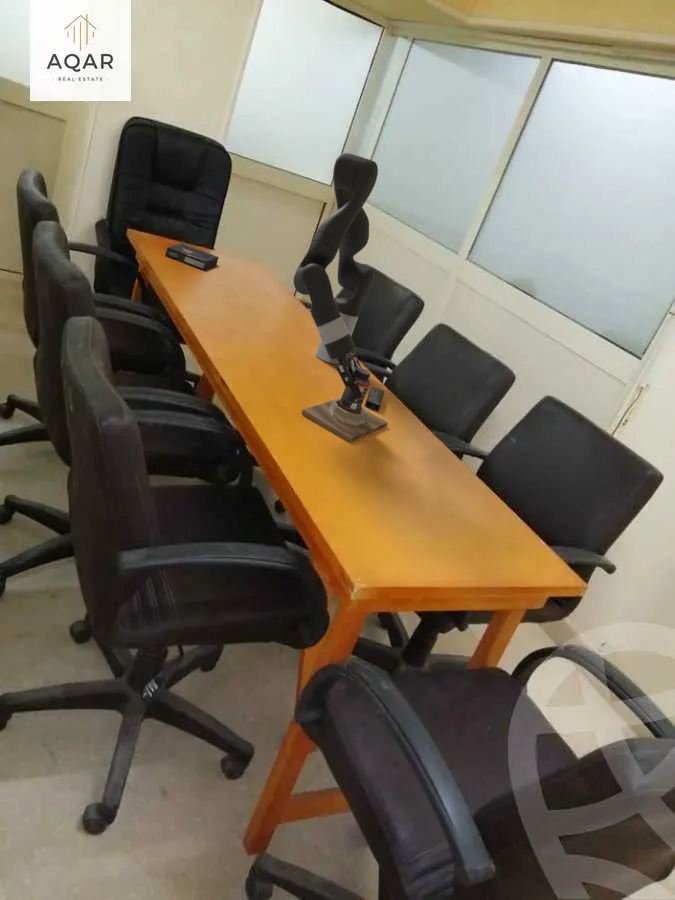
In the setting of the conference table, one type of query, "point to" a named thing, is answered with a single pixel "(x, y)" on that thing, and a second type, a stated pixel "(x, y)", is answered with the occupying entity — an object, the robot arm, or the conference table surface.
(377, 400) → the multiport hub
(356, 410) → the supplement bottle
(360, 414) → the ring stand
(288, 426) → the conference table surface
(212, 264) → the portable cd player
